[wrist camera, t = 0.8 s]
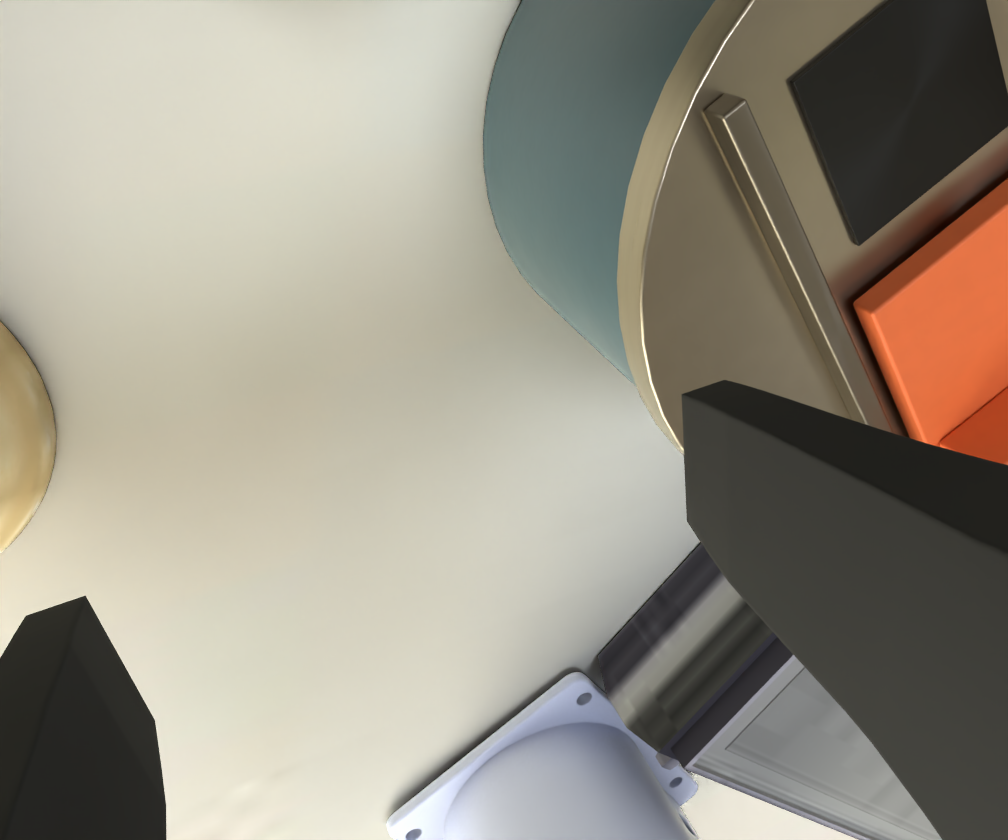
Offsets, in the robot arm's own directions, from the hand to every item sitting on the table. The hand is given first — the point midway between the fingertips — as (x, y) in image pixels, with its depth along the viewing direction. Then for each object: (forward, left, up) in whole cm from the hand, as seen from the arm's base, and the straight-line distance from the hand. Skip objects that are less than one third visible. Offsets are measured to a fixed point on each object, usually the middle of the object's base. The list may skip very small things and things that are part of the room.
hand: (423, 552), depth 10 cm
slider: (-6, -9, -2) cm, 11 cm away
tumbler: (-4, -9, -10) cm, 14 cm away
